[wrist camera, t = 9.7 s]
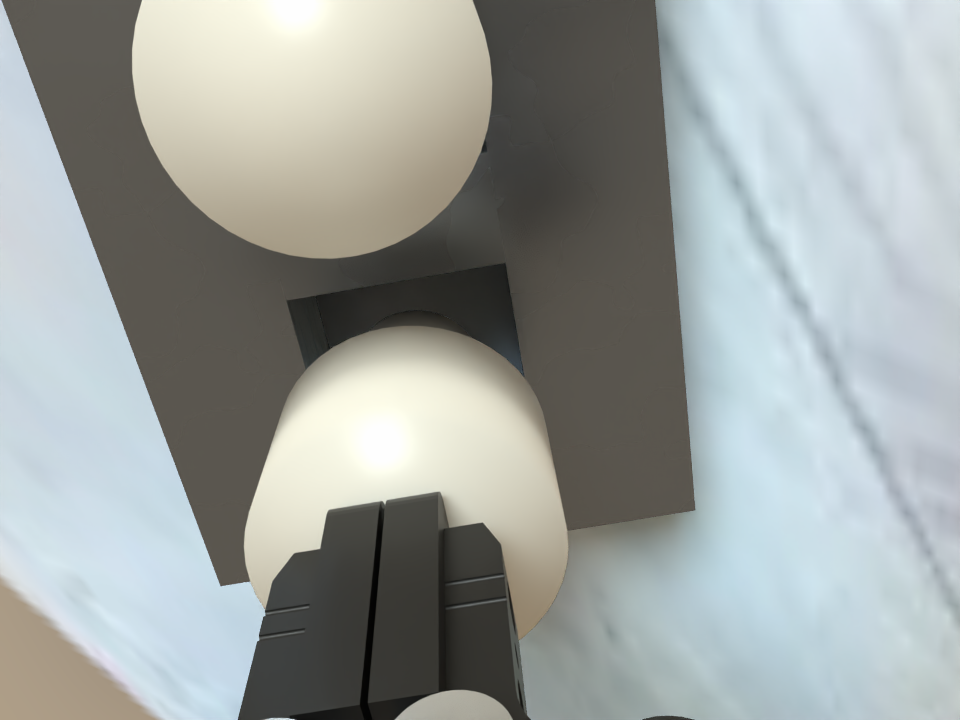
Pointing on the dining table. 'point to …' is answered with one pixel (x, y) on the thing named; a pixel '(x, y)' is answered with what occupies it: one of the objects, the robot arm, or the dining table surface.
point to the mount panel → (404, 257)
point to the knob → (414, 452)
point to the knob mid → (314, 114)
